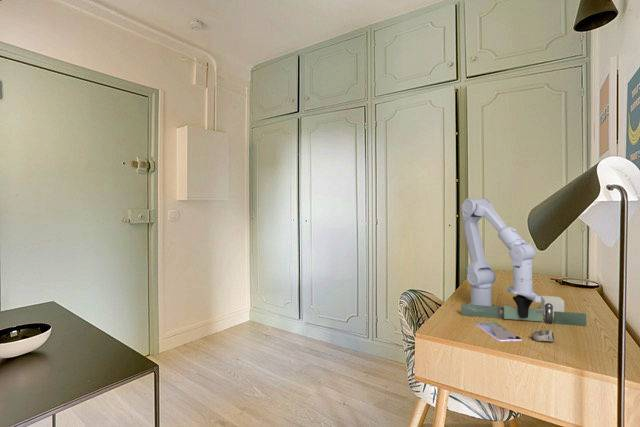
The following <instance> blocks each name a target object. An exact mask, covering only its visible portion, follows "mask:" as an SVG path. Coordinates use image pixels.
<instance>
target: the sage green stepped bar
mask: <svg viewBox="0 0 640 427" xmlns="http://www.w3.org/2000/svg"><path fill="white" fill-rule="evenodd" d="M502 307H503V318H504V320H517V321H518V320H519V321H521V320H522V321H531V322H532V321H533V322H544V310H543V309H541V308H533V307H532V308H531V307H529V310H528V318H521V317H519V313H518V307H517V306H515V307H514V306H508V305H505V304H504V305H502Z"/></svg>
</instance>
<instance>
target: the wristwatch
mask: <svg viewBox="0 0 640 427" xmlns="http://www.w3.org/2000/svg"><path fill="white" fill-rule="evenodd" d="M531 335H532V339H533V340H534V341H537V342H538V341H539V342H540V341H541V342H543V341H544V342H546V341H547V342H551V343H553V342H555V337H554V336H555V335H554V332H553V331H552V330H551V329H548V330H546V329H545V330H543V329H541V330H536V331H534V332H531Z"/></svg>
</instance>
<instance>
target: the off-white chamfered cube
mask: <svg viewBox="0 0 640 427" xmlns="http://www.w3.org/2000/svg"><path fill="white" fill-rule="evenodd" d="M540 296H541V302H540V309H543V310H544V314H543V316H545V304H546V303H550V304H552V305H553V317H554V311H558V312H565V300H564V299H562V298H561V297H560V296H553V295H552V296H551V295H540Z"/></svg>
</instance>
